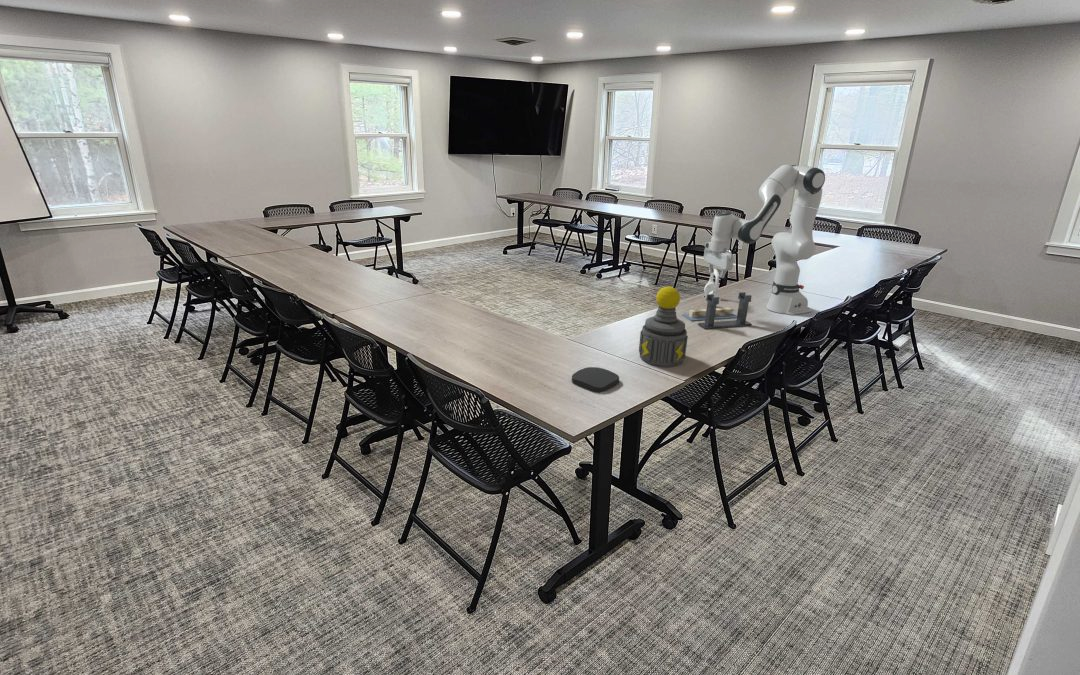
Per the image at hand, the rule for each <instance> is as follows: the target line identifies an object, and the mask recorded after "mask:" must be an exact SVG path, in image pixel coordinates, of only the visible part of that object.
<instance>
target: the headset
mask: <svg viewBox="0 0 1080 675" xmlns="http://www.w3.org/2000/svg"><path fill="white" fill-rule="evenodd" d="M713 269H714V273H710V276H709V280H708V281H707V283H706V284H705V286H704V287H703V289H704V290H703V292H704V293H705V294H703V296H702V295H701V297H702V298H707V294H713V295H714V297H719V303H720V302H721V300H722V294H721V293H720V290H719V284H720V273H719V271H718V269H717V268H713ZM714 277H715V281H714ZM704 296H705V297H704Z"/></svg>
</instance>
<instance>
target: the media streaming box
mask: <svg viewBox="0 0 1080 675" xmlns="http://www.w3.org/2000/svg"><path fill="white" fill-rule="evenodd" d="M571 383H572V384H573V385H575V386H578V387H581V388H583V389H585V390H588V391H590V392H594V393H604V392H607V391H608V390H610V389H612V388H614V387H616V386H618V385H619V384H620V376H619V375H618V374H617V373H615V372H613V371H611V370H609V369H606V368H602V367H597V366H590V367H585V368H581V369H579V370H577V371H575V372H574V373H573V374H572V376H571Z"/></svg>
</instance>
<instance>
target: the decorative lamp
mask: <svg viewBox="0 0 1080 675" xmlns="http://www.w3.org/2000/svg"><path fill="white" fill-rule="evenodd" d="M655 300H656V305H658V307H657V310H656V314H655V315H654V316H651V317H648V318H647V319H645V321H644V322H645V323H644V325H643V326H642V328H641V331H640V336H639V344H638V345H639V347H638V352H639V357H640V359H641V360H642V361H643V362H645V363H647V364H649V365H652V366H656V367H664V368H665V367H676V366H678V365H681V364H682V363H683V362H684V359H685V357H686V354H687V352H686V351H687V345H688V344H687V343H688V338H689V337H688V335H687V334H688V331H687V330H686V323H685V322H684V321H683V320H682V319H679V318H678V316H677V311H676V307H677V306H678V305H679V304H680V301H681V295H680V292H679V291H678V290H677V289H676V288H674V287H673V286H664V287H661V288H660V289H659V290H658V291H657V294H656V297H655Z"/></svg>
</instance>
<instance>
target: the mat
mask: <svg viewBox="0 0 1080 675" xmlns="http://www.w3.org/2000/svg"><path fill="white" fill-rule="evenodd" d="M681 315H682V316H683V317H684V318H686V319H687V320H689V321H690V322H699V321H700V322H701V321H705V317H696V318H691V317H690V316H689V313H682V314H681ZM726 319H727V320H728V319H737V314H734V313H733V312H732V315H724V316H715V319H714V321H715V320H726Z"/></svg>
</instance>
